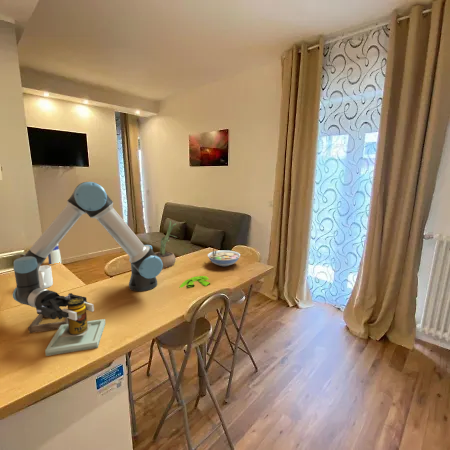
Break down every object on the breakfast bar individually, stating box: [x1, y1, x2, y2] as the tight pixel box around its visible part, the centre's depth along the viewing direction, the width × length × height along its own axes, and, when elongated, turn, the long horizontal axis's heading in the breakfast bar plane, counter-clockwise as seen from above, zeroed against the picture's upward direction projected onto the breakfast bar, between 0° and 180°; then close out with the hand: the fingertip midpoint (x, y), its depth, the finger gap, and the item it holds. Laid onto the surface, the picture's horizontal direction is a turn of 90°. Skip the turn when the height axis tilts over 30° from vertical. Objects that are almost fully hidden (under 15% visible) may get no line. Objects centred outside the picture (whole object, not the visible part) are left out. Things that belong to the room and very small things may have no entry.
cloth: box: [179, 275, 211, 289], centre depth 147 cm, size 20×22×2 cm
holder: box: [27, 310, 68, 334], centre depth 107 cm, size 13×12×2 cm
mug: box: [38, 264, 54, 289], centre depth 142 cm, size 9×12×11 cm
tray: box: [44, 318, 106, 357], centre depth 97 cm, size 16×16×2 cm
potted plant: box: [154, 220, 181, 269], centre depth 179 cm, size 22×18×30 cm
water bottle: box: [47, 243, 62, 265], centre depth 181 cm, size 8×9×25 cm
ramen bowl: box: [207, 248, 241, 267], centre depth 179 cm, size 25×23×8 cm
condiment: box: [60, 298, 91, 337], centre depth 95 cm, size 7×8×12 cm
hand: (84, 312), depth 93 cm, fingers closed on condiment, 6 cm apart
